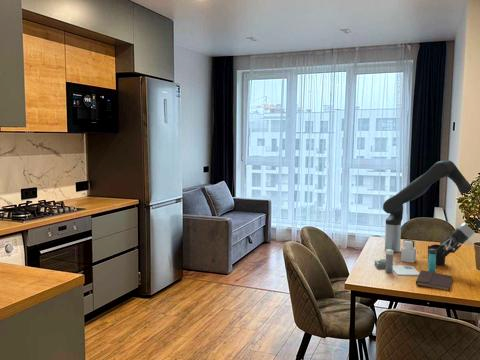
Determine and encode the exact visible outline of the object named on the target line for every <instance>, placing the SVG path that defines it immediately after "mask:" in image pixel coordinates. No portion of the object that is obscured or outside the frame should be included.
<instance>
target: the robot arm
mask: <svg viewBox="0 0 480 360" xmlns="http://www.w3.org/2000/svg"><path fill="white" fill-rule="evenodd" d="M447 177H448V178H449V180H451V181H452V182H453V183H454V184H455V185H456V187H457V189H458V192H459V193H460V195H461V196H462V197H463V193H466V194H468V192H469V191H470V190H471V186H472V185H471V184H470V182H469V181H468V180H467V179H466V177H464V175H463V173H462V172H461V171H460V170H459V168H458V167H457V165H456V164H455V163H454V162H453V161H451V160H449V159H448V160H447V159H446V160H440V161H437V162H435V163H434V164H433V165H432V166H431V167H429V169H427V171H426V172H425V173H423V174H422V175H419V177H417V178H415V180H413V181H412V182H410V183H409V184H408V185H406V186H405V187H404V188H402V189H401V190H400V191H399V192H397V193H396V194H395V195H393V196H392V197H390V198H387V199H386V200H385V201H384V203H383V204H382V209H383V210H382V211H384V212H385V213H386V214H389V216H388V217H387V218H386V219H385V232H384V235H385V236H384V250H385V251H386V249H391V250H393V253H401V238H402V235H401V231H402V221H403V215H404V204H406V203H409V202H411V201H413V200H416V199H417V198H419V197H421V196H422V195H424V194H426V193H427V191H428V190H429V189H430V187H431V186H432V185H433V184H434V183H436V182H437V181H439V180H441V179H443V178H447ZM474 221H475V224H476V227H477V229H478V230H480V221H479V220H478V219H477V218H474ZM475 233H476V232H474V231H473V230H472V229H471V228H470V227H468V225H467V223H466V222H465V221H464V222H463V223H462V224H460V225H459V226H457V228H455V229H454V230H453V231H452V232H451V233H450V236H451V237H449V236H447V237H445V238H444V239H443V240H441V242H439V245H440V246H439V247H438V248H437V249H436V250H437V251H436V252H437V253H440V252H441V251H442V250H443V249H444V248H446V251H444V252H443V253H442V254H441V255H442V256H443V257H445V258H446V257H447V256H448V255H450V254H454V253H455V252H456V251H458V250H459V249H460V248H461V247H462V245H463V244H465V243H466V241H468V240H469V239H470V238H471V237H472V236H474V234H475Z"/></svg>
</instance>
